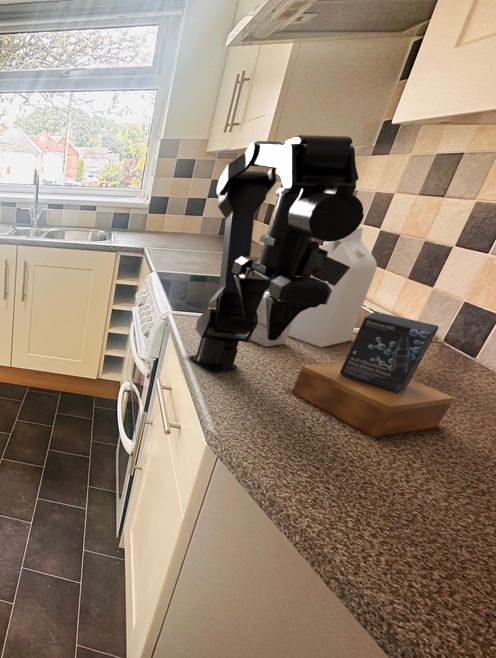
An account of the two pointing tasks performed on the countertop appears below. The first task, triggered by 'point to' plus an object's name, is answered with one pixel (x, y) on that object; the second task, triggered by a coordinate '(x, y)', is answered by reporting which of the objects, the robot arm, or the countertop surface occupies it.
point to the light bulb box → (261, 328)
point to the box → (388, 350)
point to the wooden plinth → (371, 401)
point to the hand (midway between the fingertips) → (258, 329)
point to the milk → (339, 296)
